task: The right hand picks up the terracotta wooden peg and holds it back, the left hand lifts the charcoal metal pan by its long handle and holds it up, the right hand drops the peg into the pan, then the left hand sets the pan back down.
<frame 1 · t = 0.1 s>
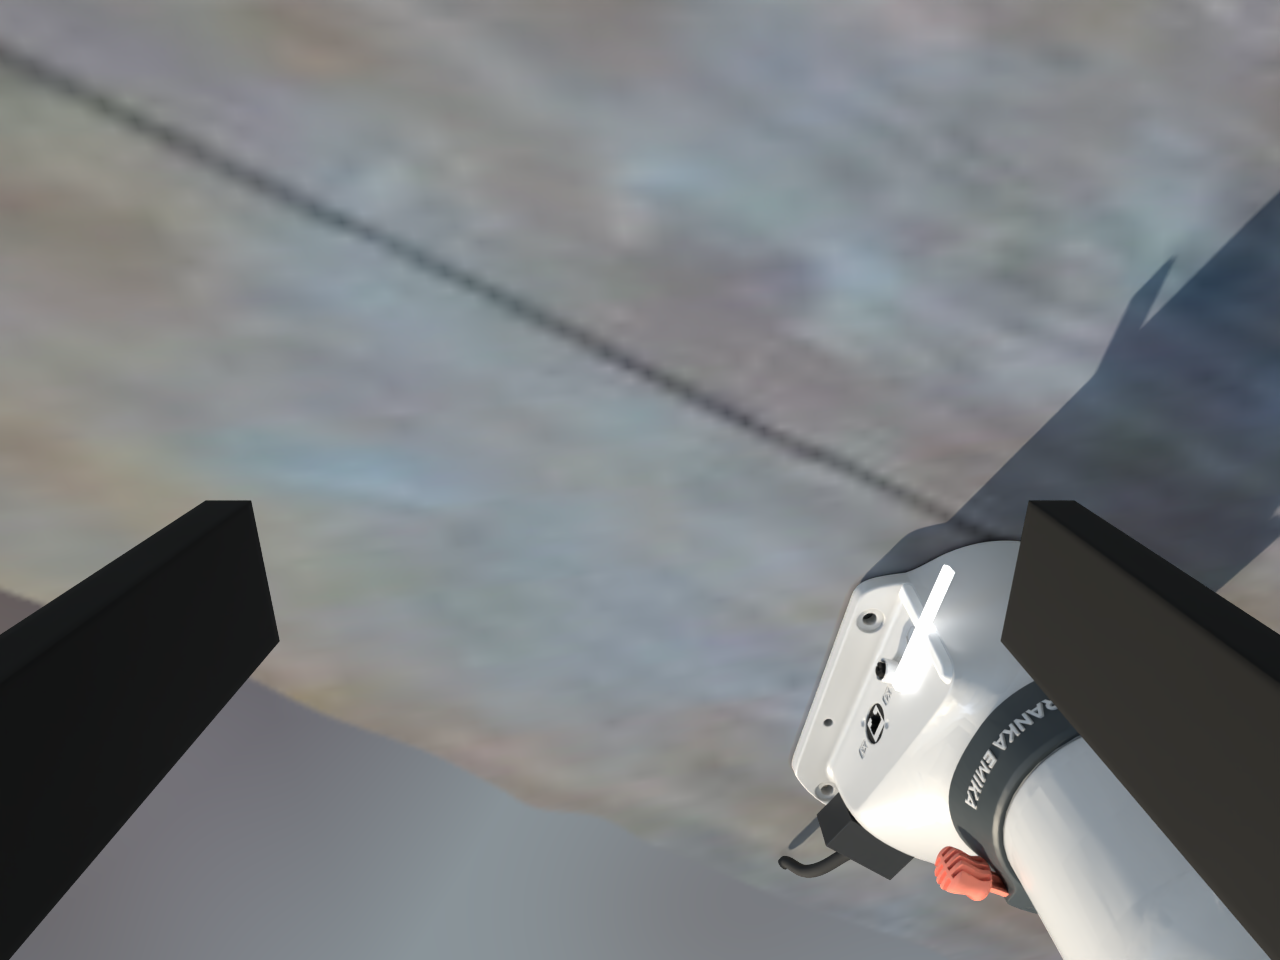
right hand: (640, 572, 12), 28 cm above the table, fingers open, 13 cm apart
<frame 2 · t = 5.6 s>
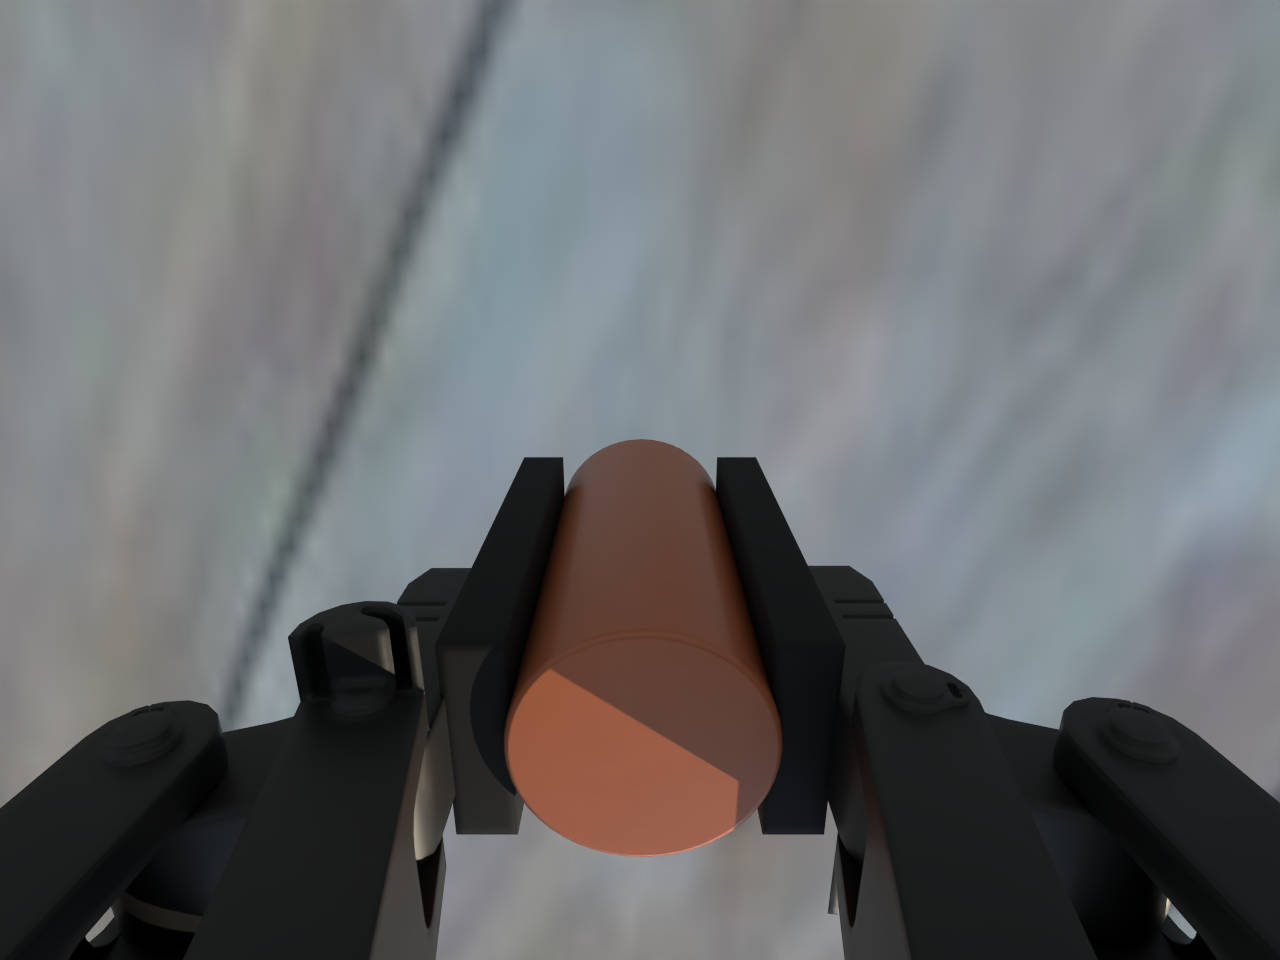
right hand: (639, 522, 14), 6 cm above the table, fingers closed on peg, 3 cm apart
peg: (641, 512, 15), point 6 cm above the table, touching right hand
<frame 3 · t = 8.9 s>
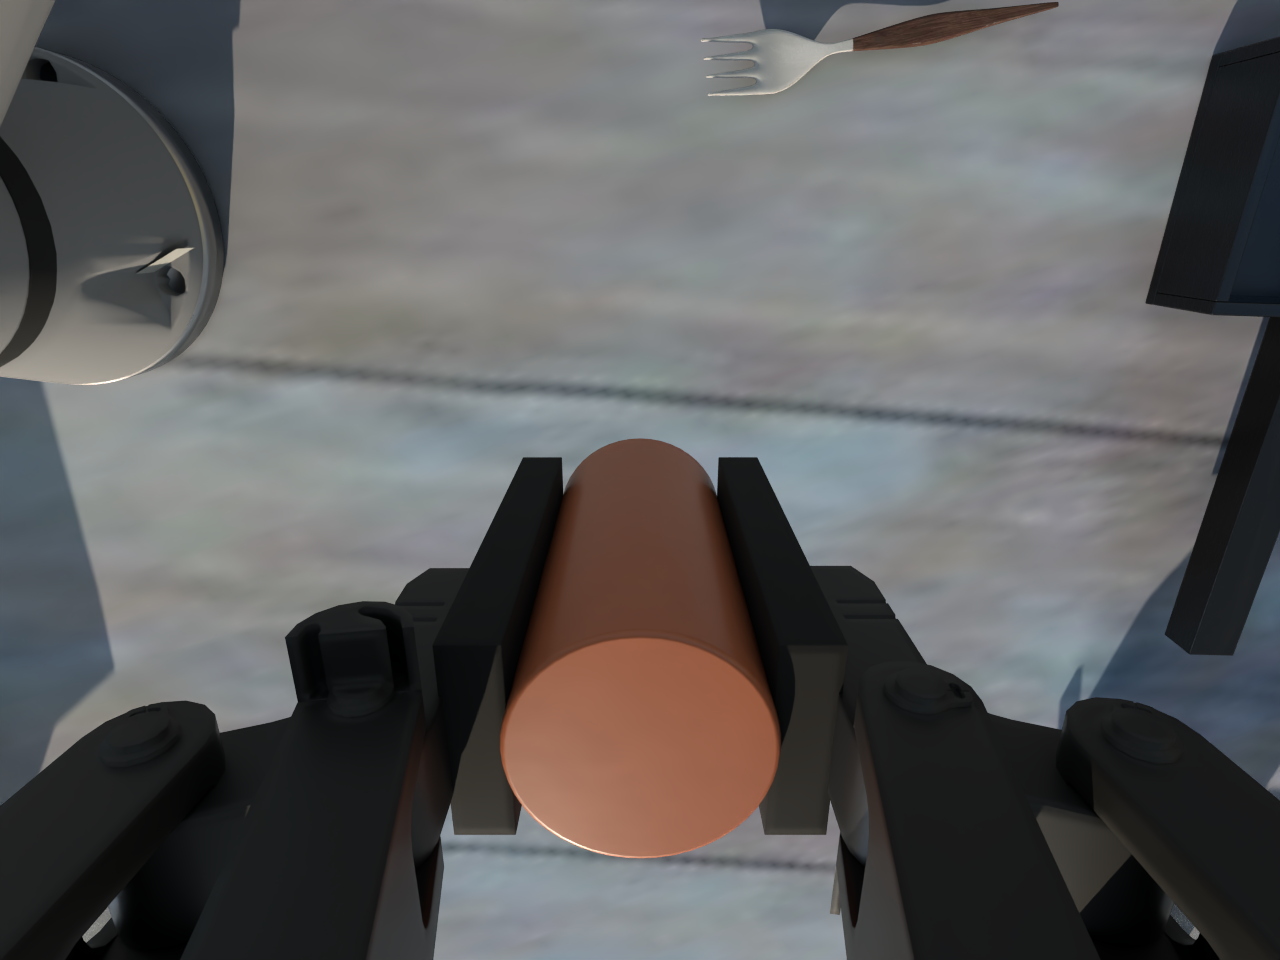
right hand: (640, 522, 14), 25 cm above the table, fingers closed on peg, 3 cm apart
peg: (639, 512, 15), point 24 cm above the table, touching right hand
fork: (872, 43, 33), on the table
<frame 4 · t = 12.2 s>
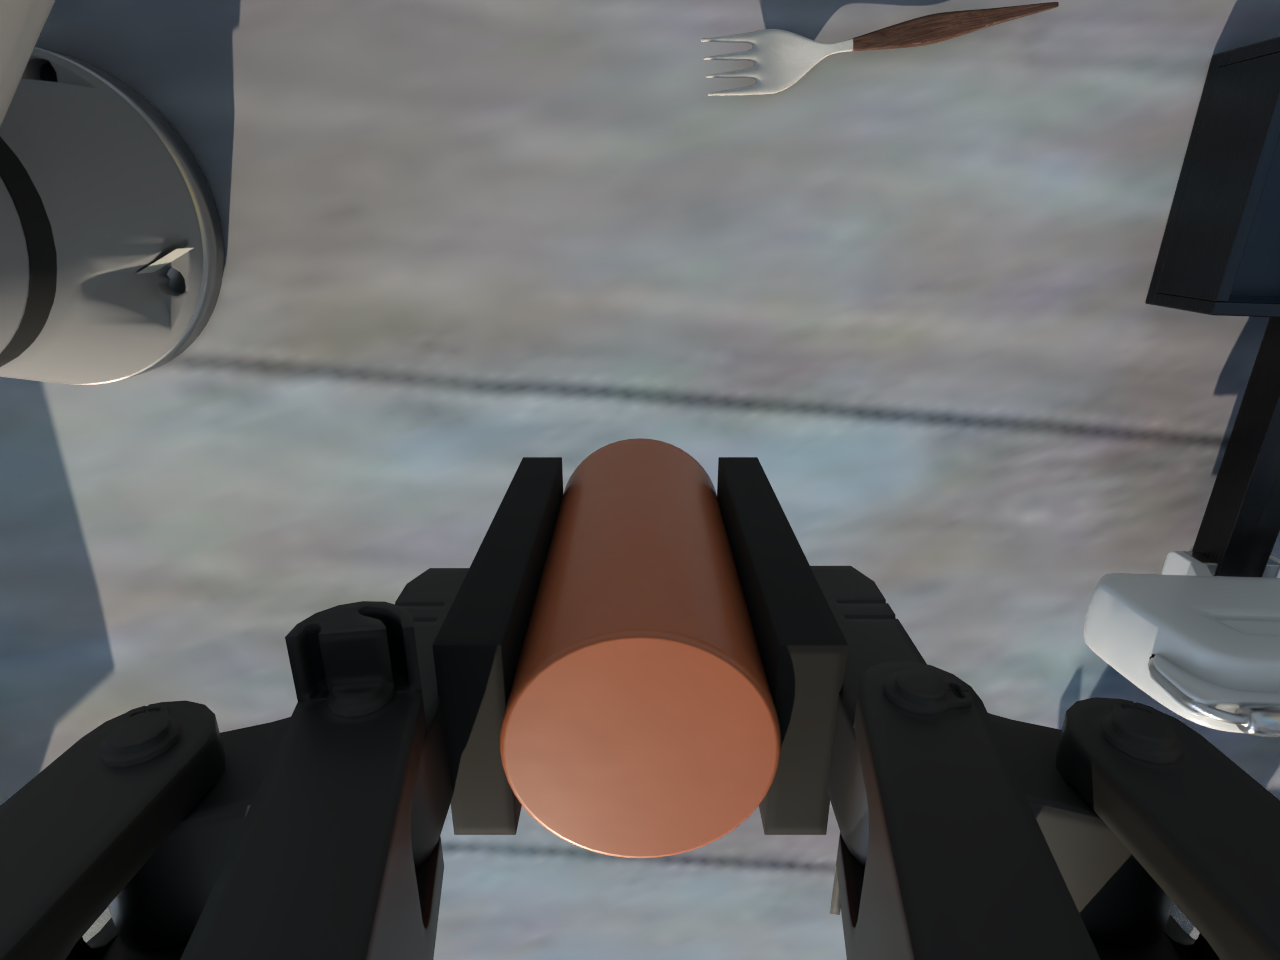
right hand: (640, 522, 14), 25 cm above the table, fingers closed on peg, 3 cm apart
peg: (639, 512, 15), point 24 cm above the table, touching right hand
fork: (872, 43, 33), on the table
when the right hand's fingers open (23 cm above the table, at t = 17.8 s): peg drops 12 cm and tips over, resting on pan.
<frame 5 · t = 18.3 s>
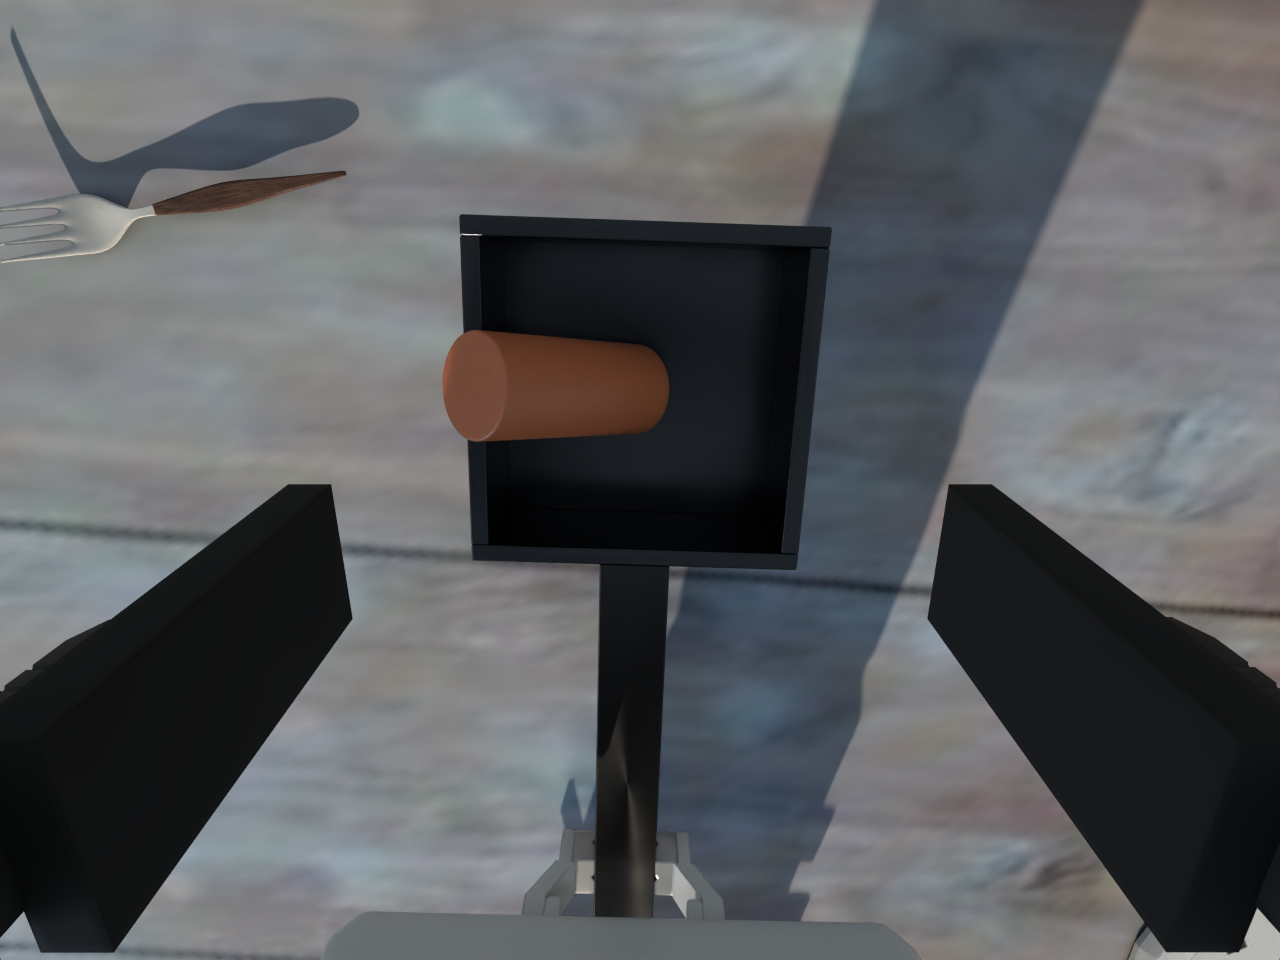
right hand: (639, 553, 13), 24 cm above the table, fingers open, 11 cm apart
pan: (639, 383, 27), point 9 cm above the table, touching left hand, peg
peg: (635, 389, 26), point 10 cm above the table, tilted 44°, touching pan
fork: (187, 205, 33), on the table
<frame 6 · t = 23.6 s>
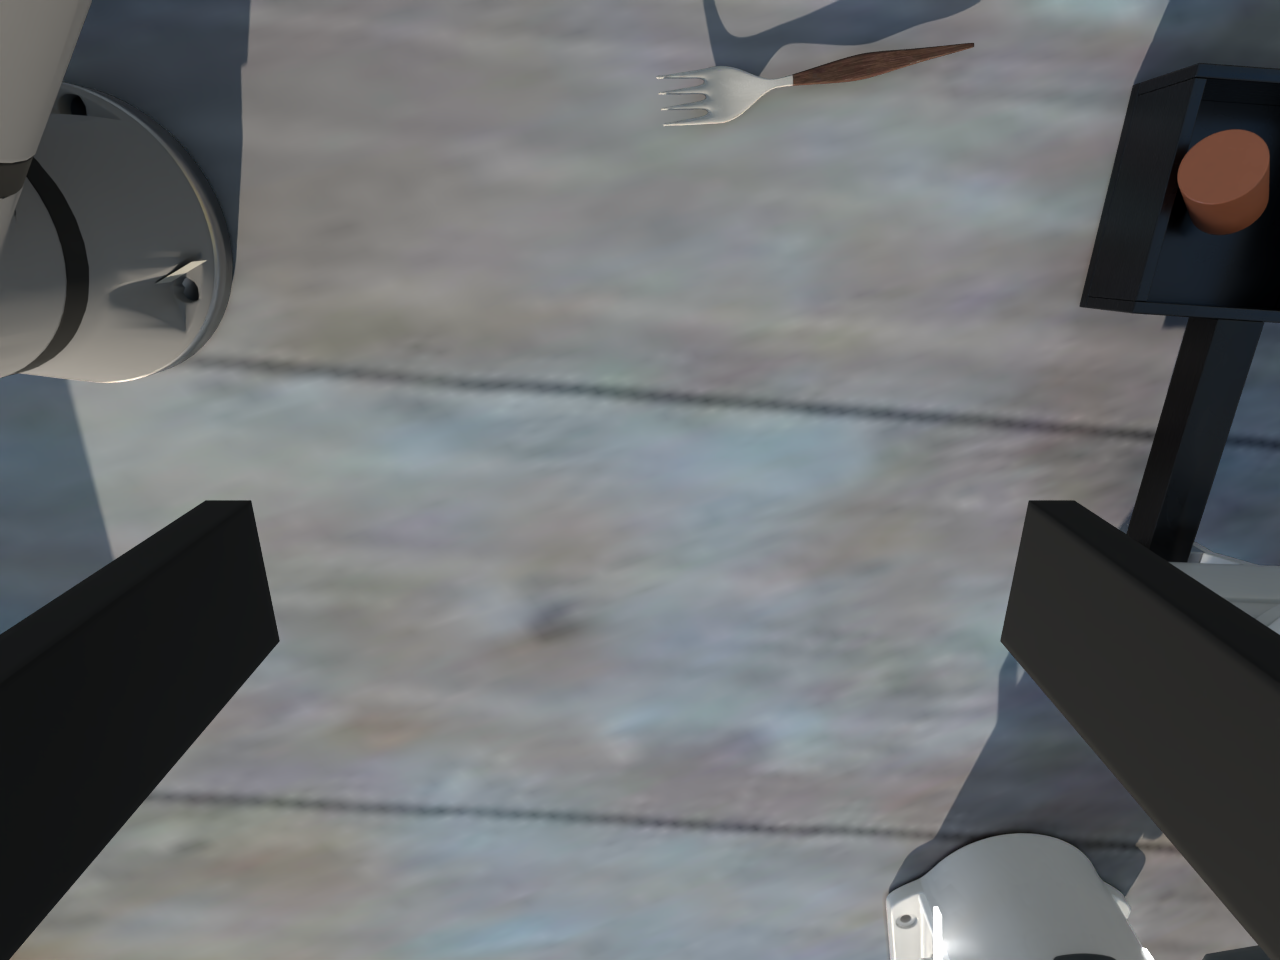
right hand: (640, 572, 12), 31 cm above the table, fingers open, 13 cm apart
pan: (1206, 207, 39), on the table, touching left hand, peg
peg: (1227, 203, 37), point 2 cm above the table, tilted 43°, touching pan
fork: (811, 78, 37), on the table
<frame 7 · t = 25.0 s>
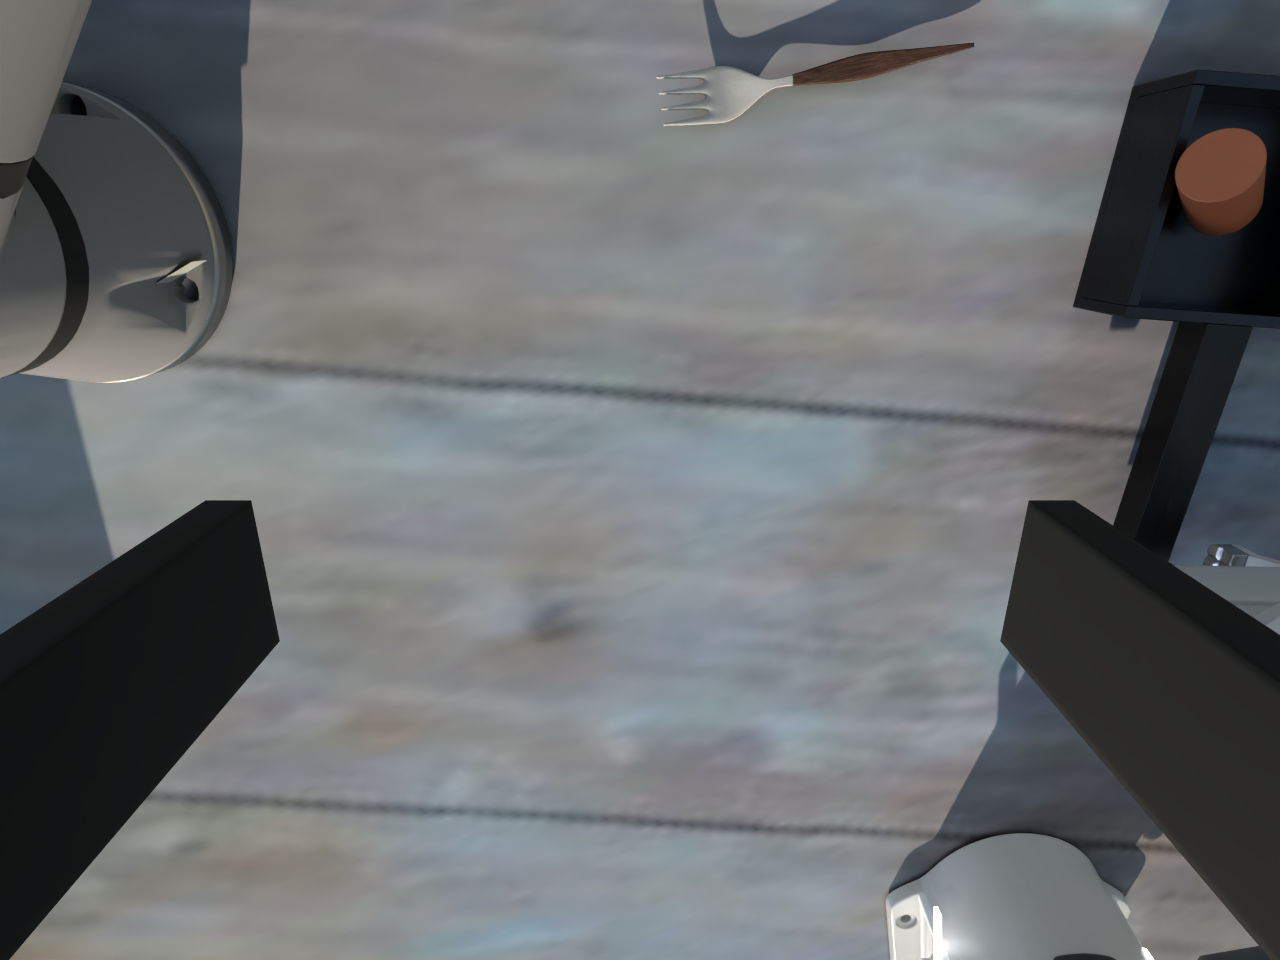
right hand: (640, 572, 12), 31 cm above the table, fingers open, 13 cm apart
pan: (1201, 209, 39), on the table, touching peg
peg: (1222, 204, 37), point 2 cm above the table, tilted 43°, touching pan
fork: (811, 78, 37), on the table
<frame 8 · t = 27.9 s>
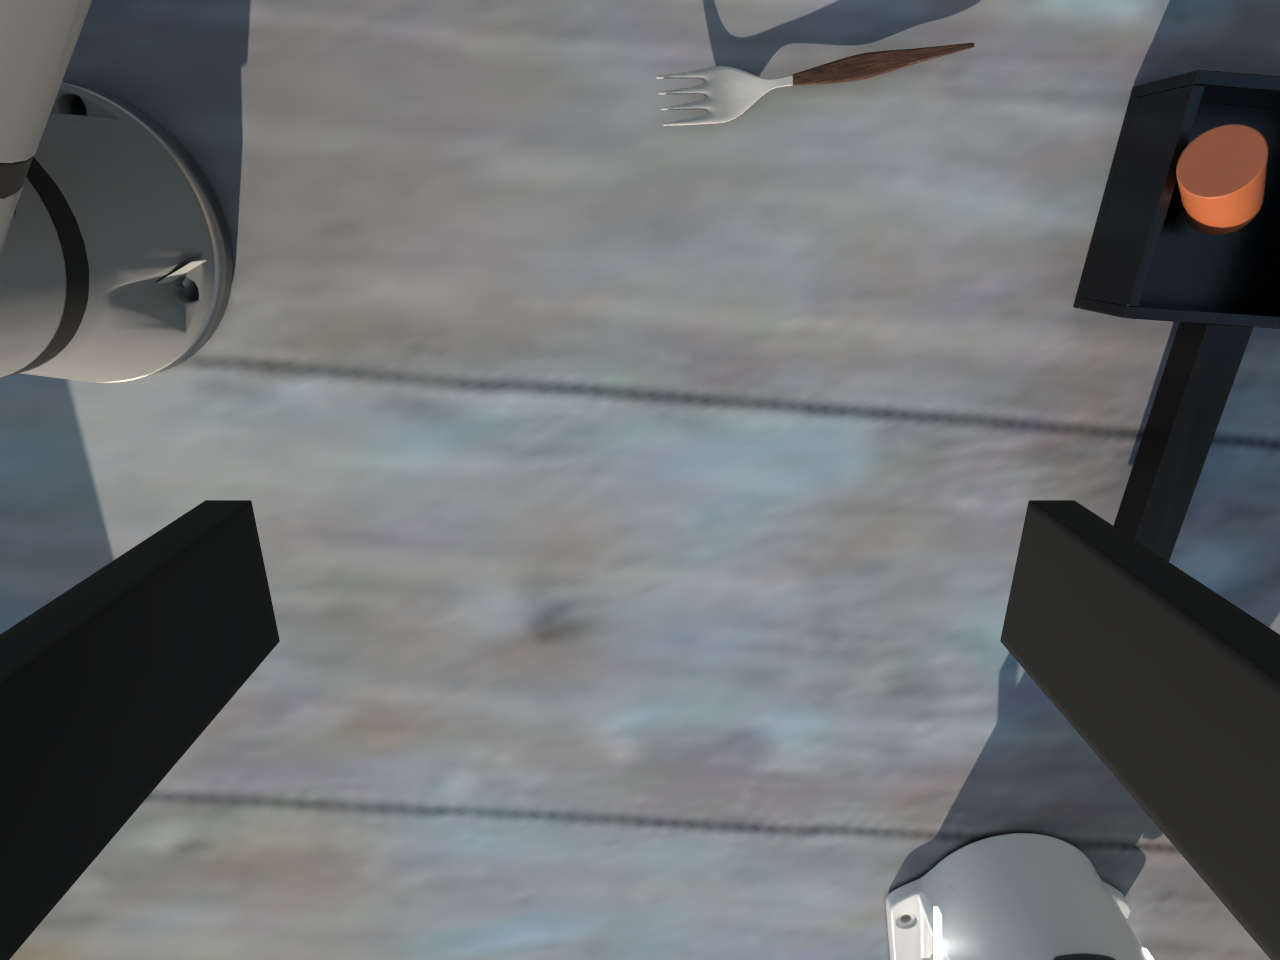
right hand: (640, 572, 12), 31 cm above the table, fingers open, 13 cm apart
pan: (1201, 209, 39), on the table, touching peg
peg: (1223, 204, 37), point 2 cm above the table, tilted 43°, touching pan
fork: (811, 78, 37), on the table
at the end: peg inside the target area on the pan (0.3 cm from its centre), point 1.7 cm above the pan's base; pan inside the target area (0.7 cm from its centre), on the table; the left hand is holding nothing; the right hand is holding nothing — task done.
